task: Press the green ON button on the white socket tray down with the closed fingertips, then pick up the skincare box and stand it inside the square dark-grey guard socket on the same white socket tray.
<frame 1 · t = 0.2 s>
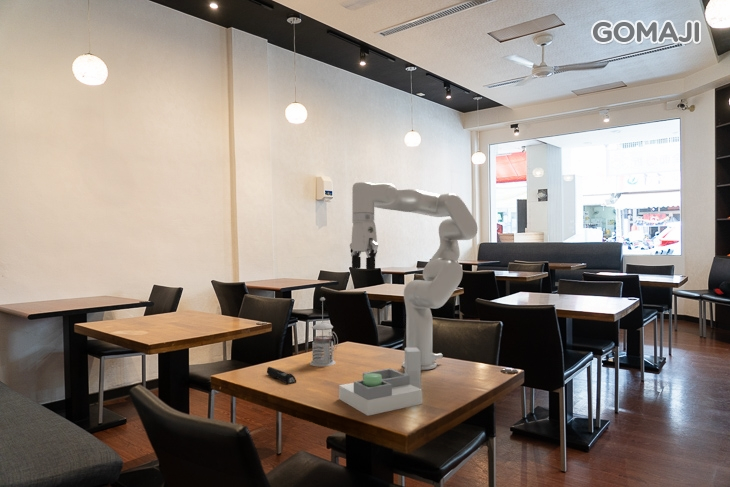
hand: (363, 268, 166), 37 cm above the table, tool pointing down, fingers open, 9 cm apart
electric trimmer: (280, 380, 162), on the table
skincare box: (412, 388, 152), on the table
on button: (372, 380, 133), point 8 cm above the table, slide at 0.0 cm
white socket tray: (380, 401, 139), on the table
french press: (324, 364, 183), on the table
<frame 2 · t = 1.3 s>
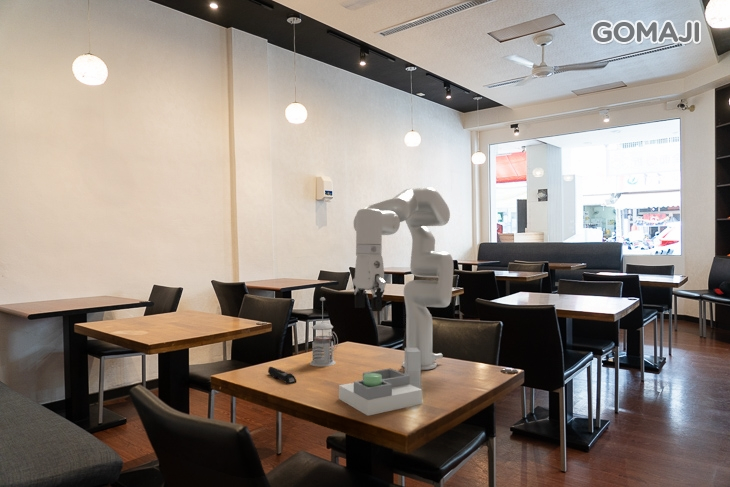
hand: (367, 309, 142), 26 cm above the table, tool pointing down, fingers open, 9 cm apart
nothing on the table moved.
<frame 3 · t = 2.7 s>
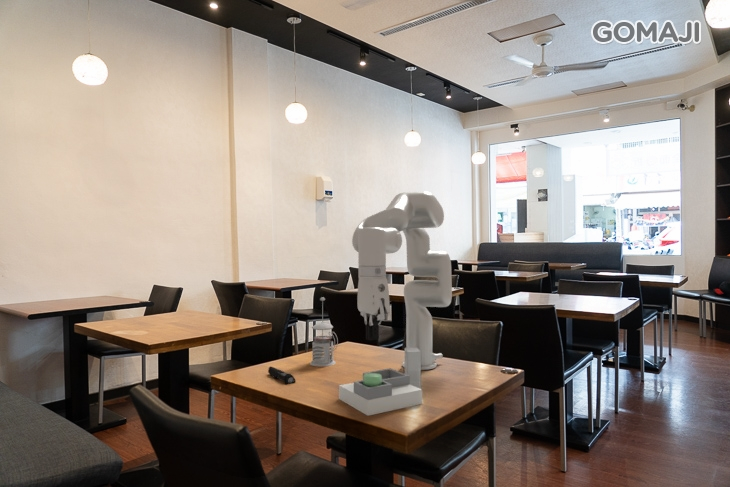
hand: (372, 339, 133), 19 cm above the table, tool pointing down, fingers closed
nothing on the table moved.
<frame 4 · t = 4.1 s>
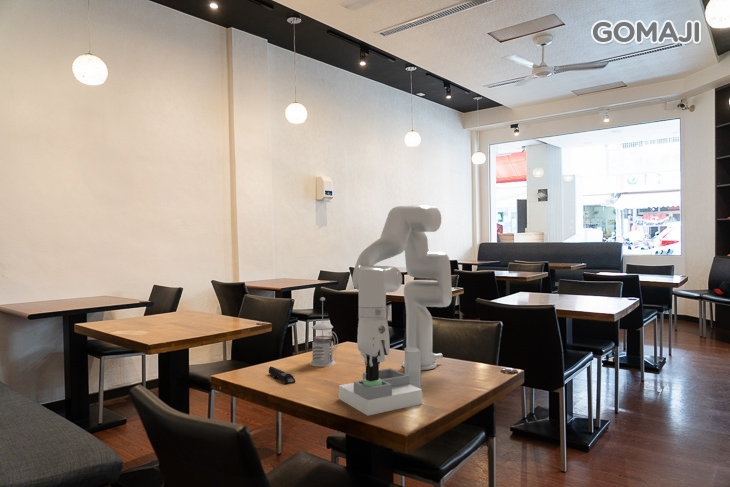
hand: (372, 379, 133), 8 cm above the table, tool pointing down, fingers closed
on button: (372, 384, 133), point 7 cm above the table, slide at 1.1 cm, touching gripper
everything else where it was.
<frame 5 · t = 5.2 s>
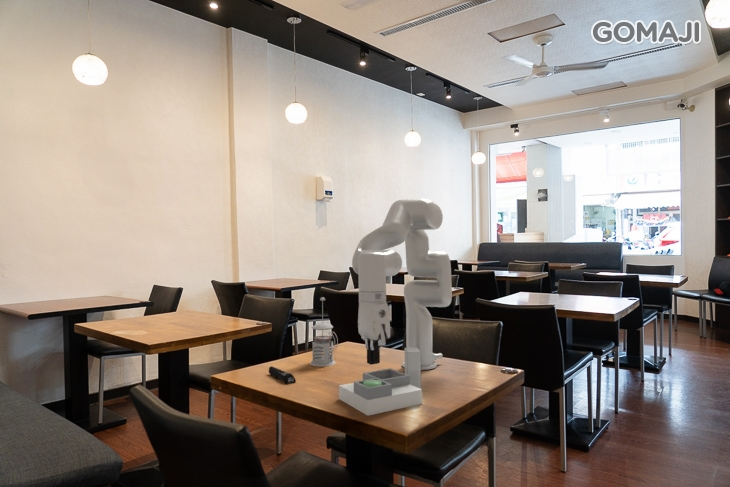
hand: (373, 363, 134), 12 cm above the table, tool pointing down, fingers closed
on button: (372, 387, 133), point 6 cm above the table, slide at 1.8 cm
everything else where it was.
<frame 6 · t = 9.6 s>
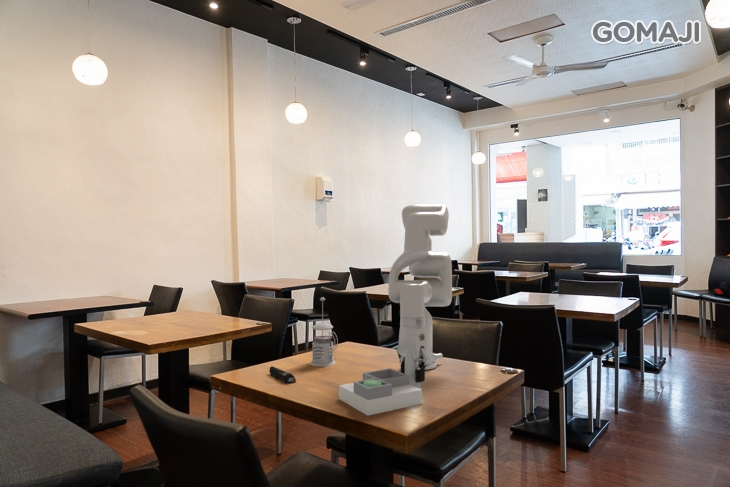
hand: (412, 378, 152), 3 cm above the table, tool pointing down, fingers closed on skincare box, 7 cm apart
skincare box: (412, 388, 152), on the table, touching gripper
everything else where it was.
when the fingers open (8 cm above the table, at t = 15.9 s): skincare box stays where it is, resting on white socket tray.
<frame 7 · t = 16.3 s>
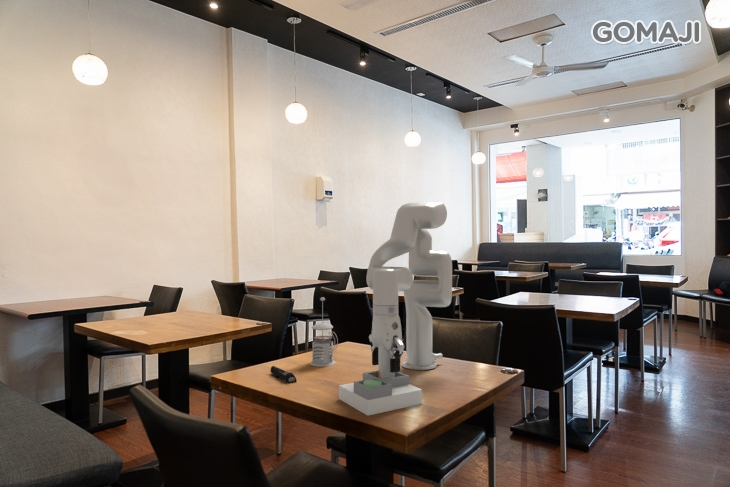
hand: (385, 368, 143), 8 cm above the table, tool pointing down, fingers open, 9 cm apart
skincare box: (386, 383, 144), point 4 cm above the table, touching white socket tray
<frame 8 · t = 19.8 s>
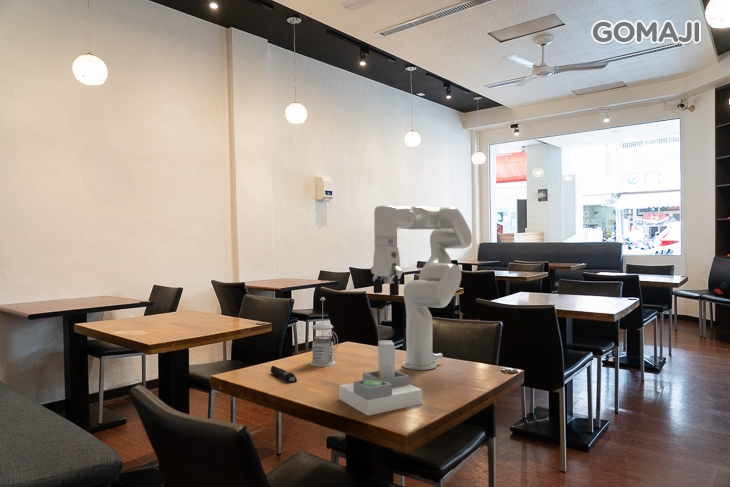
hand: (385, 294, 162), 28 cm above the table, tool pointing down, fingers open, 9 cm apart
at the end: on button slide at 1.8 cm; skincare box 0.2 cm from the target spot on the white socket tray, point 3.8 cm above the white socket tray's base; skincare box tilted 0° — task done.
